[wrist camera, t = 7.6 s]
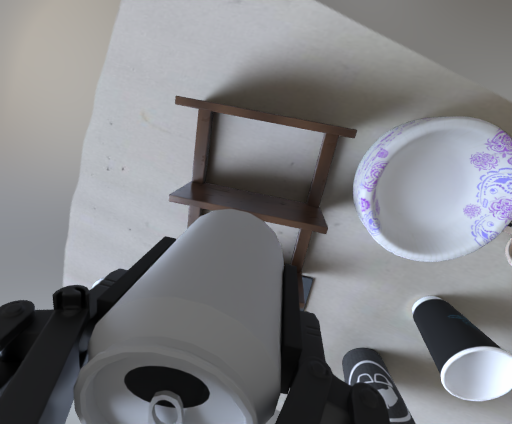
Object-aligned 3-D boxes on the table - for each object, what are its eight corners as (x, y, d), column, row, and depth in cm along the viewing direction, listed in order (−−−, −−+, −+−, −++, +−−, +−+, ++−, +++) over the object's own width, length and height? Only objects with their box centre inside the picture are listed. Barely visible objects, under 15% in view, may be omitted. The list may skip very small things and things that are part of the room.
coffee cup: (321, 363, 44) (337, 475, 30) (360, 330, 41) (399, 437, 27) (363, 391, 45) (398, 512, 31) (404, 361, 42) (464, 480, 28)
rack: (340, 128, 32) (357, 130, 24) (300, 273, 39) (303, 309, 32) (200, 101, 33) (175, 95, 25) (186, 248, 40) (163, 277, 32)
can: (287, 208, 18) (287, 353, 6) (280, 298, 20) (273, 518, 9) (182, 201, 19) (19, 322, 7) (188, 289, 21) (73, 483, 10)
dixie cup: (459, 284, 37) (527, 346, 27) (456, 328, 39) (517, 401, 29) (400, 289, 38) (443, 350, 28) (401, 331, 41) (440, 402, 30)
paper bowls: (329, 151, 33) (342, 159, 26) (457, 94, 30) (515, 84, 22) (366, 250, 37) (387, 282, 29) (484, 210, 33) (541, 235, 26)
